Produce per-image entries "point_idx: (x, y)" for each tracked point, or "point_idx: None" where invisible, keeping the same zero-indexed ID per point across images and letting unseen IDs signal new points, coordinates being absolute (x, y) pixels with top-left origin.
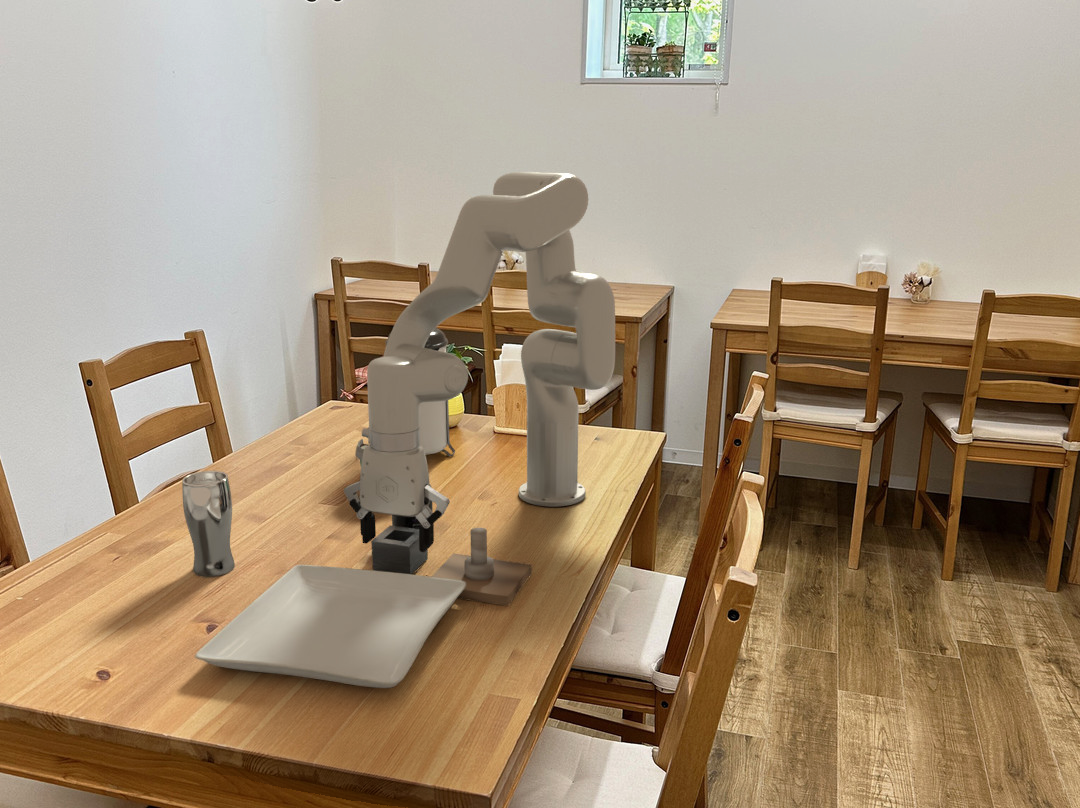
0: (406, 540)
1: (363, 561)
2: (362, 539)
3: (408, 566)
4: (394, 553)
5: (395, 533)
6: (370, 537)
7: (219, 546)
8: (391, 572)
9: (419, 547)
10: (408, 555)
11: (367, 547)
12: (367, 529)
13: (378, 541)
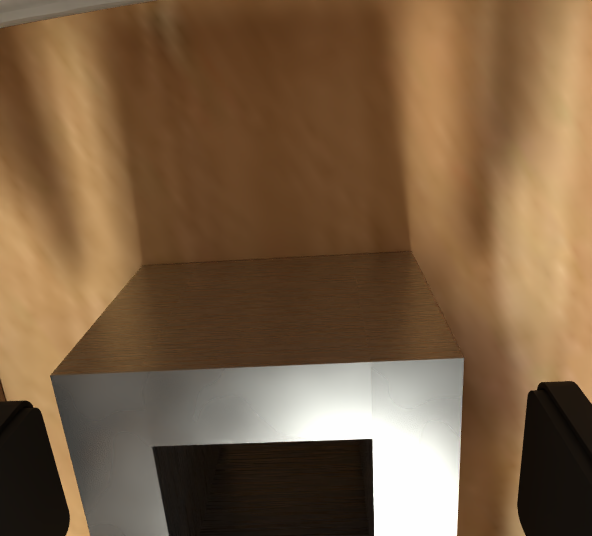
0: (154, 468)
1: (533, 345)
2: (585, 397)
3: (133, 292)
4: (224, 323)
5: None
6: (534, 460)
7: None
8: (54, 9)
9: (21, 423)
10: (99, 332)
11: None
12: (580, 490)
13: (389, 372)
